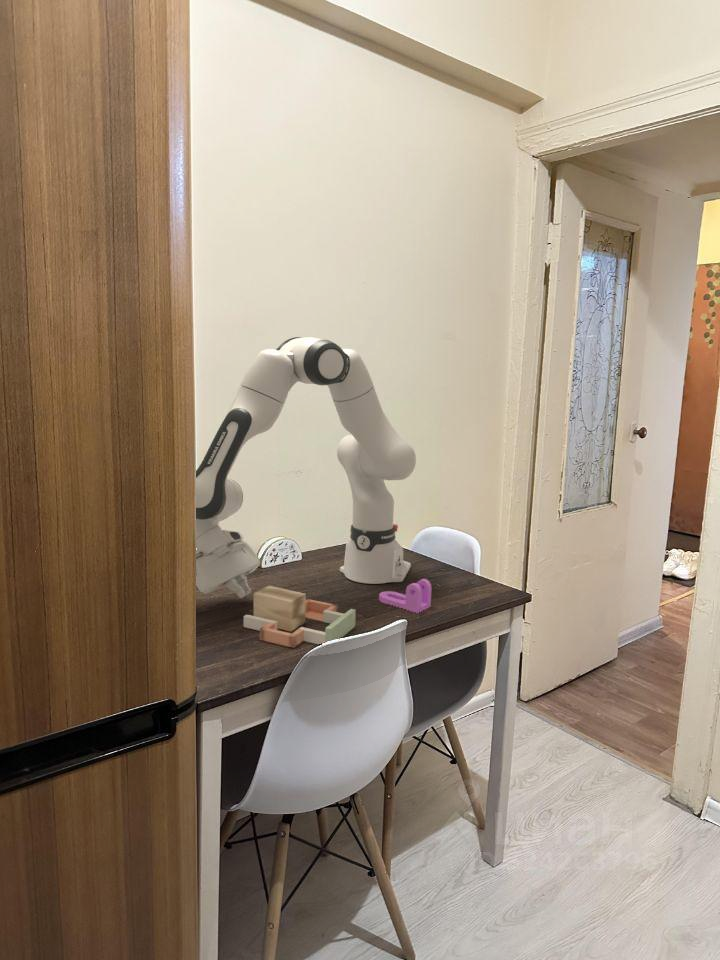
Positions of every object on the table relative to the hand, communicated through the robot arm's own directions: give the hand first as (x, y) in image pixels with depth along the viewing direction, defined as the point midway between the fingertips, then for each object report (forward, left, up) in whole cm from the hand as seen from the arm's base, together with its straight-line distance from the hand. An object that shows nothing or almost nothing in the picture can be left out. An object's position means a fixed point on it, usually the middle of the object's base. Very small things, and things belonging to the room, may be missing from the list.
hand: (246, 594), depth 157 cm
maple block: (0, +9, -5) cm, 10 cm away
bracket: (-25, +29, -5) cm, 39 cm away
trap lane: (0, +13, -5) cm, 14 cm away
